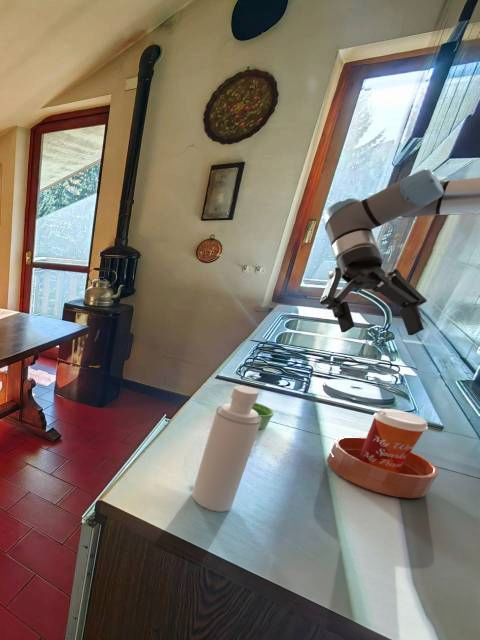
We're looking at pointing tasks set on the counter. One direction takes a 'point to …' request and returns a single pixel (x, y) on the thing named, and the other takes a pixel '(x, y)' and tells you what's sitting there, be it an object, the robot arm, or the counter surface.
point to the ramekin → (263, 414)
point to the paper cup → (391, 438)
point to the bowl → (381, 470)
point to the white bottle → (227, 451)
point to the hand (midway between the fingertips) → (381, 330)
